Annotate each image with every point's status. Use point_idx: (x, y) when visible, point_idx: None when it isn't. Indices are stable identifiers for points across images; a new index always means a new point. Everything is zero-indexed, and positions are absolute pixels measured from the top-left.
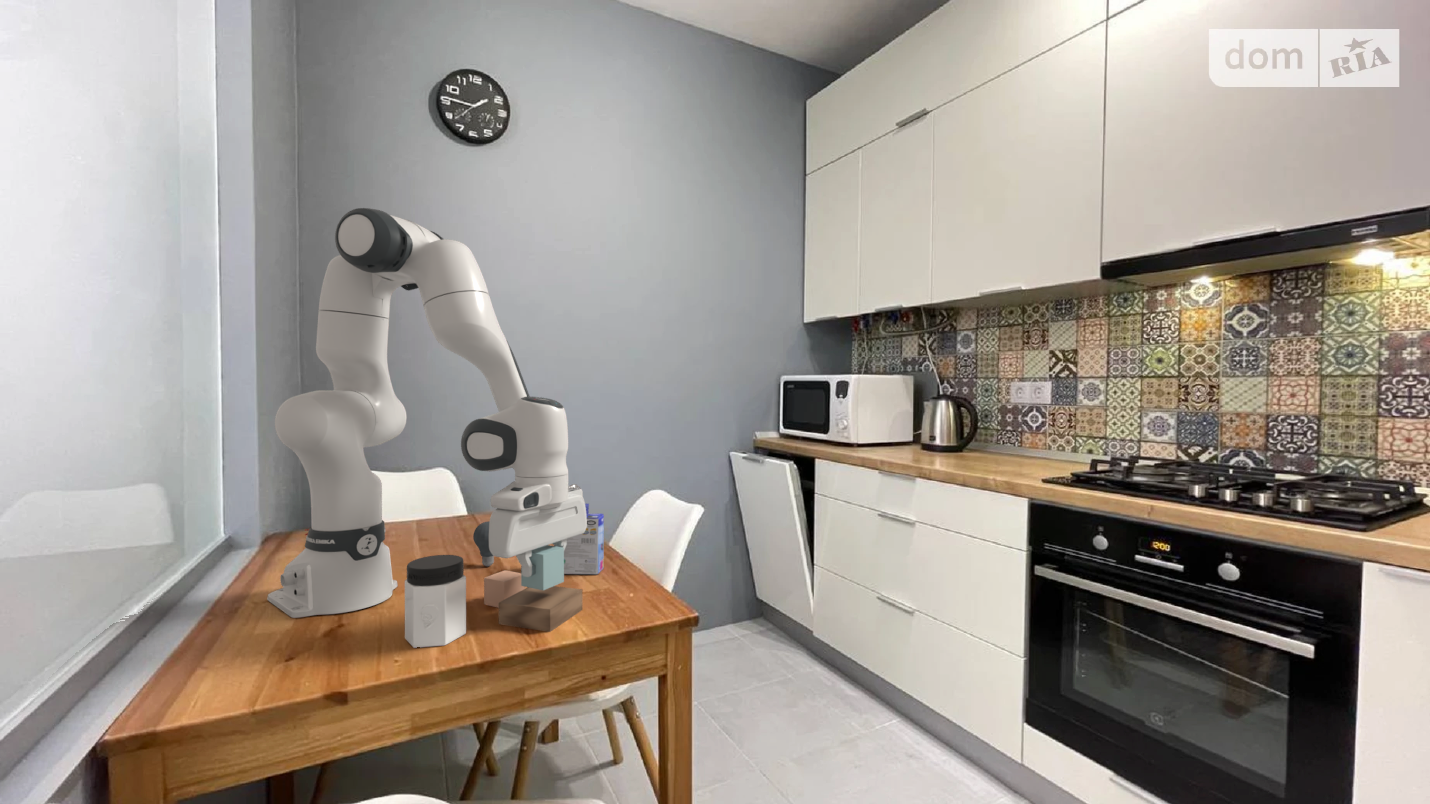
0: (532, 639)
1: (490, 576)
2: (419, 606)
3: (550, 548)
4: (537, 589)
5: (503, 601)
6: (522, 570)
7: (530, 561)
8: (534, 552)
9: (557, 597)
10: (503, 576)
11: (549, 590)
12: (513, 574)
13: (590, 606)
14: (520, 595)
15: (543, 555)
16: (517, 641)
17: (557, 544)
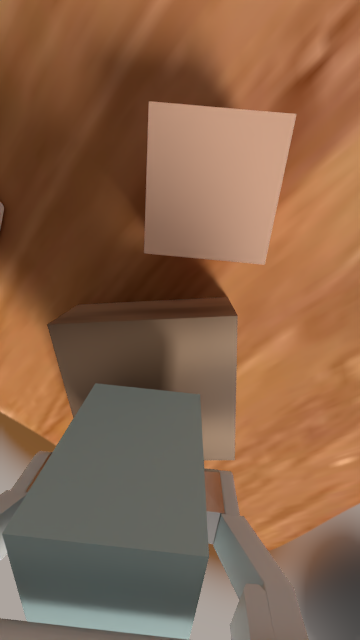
0: (61, 411)
1: (178, 121)
2: None
3: (142, 616)
4: (190, 358)
5: (62, 331)
6: (26, 469)
7: (3, 555)
8: (32, 592)
9: None
10: (201, 193)
11: (196, 393)
12: (243, 219)
13: (250, 423)
14: (125, 344)
15: None
16: (39, 394)
17: (234, 615)
